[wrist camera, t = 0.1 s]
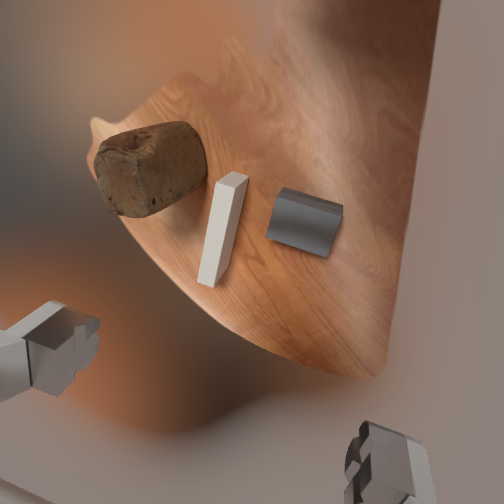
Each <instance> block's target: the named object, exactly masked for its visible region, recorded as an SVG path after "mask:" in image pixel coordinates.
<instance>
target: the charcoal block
mask: <svg viewBox="0 0 504 504" xmlns="http://www.w3.org/2000/svg"><path fill="white" fill-rule="evenodd" d="M342 213H343V205H340V204H337V203H334V202H331V201H327V200H324V199H321V198H318V197H315V196H311V195H308V194H305V193H302V192H299V191H295V190H292V189H289V188H286V187H283V189H282V190H281V192H280V193H279V194H278V196H277V198H276V202H275V205H274V209H273V212H272V216H271V220H270V223H269V227H268V230H267V234H266V238H269V239H272V240H275V241H278V242H281V243H284V244H287V245H290V246H293V247H296V248H299V249H302V250H305V251H308V252H311V253H314V254H317V255H320V256H323V257H327V255H328V252H329V249H330V247H331V244H332V242H333V239H334V237H335V234H336V232H337V229H338V226H339V224H340V221H341V219H342Z"/></svg>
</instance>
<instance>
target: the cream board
mask: <svg viewBox="0 0 504 504" xmlns="http://www.w3.org/2000/svg"><path fill="white" fill-rule="evenodd" d="M248 180H249V176H247V175H244V174H240V173H237V172H234V171H232V172H230V173H229V174H227V175H226V176H224V177H223V178H221V179H220V180H218V181H217V182H216V185H215V190H214V195H213V201H212V206H211V211H210V216H209V222H208V227H207V232H206V238H205V243H204V248H203V253H202V259H201V264H200V269H199V275H198V280H197V282H199V283H201V284H204V285H207V286H210V287H214V286H215V285H216V283H217V282H218V280H219V279H220V278H221V276H222V275H223V273H224V272H225V270H226V269H227V268H228V265H229V261H230V257H231V252H232V248H233V244H234V240H235V235H236V231H237V227H238V223H239V218H240V214H241V210H242V205H243V201H244V197H245V193H246V188H247V184H248Z"/></svg>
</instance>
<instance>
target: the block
mask: <svg viewBox="0 0 504 504" xmlns="http://www.w3.org/2000/svg"><path fill="white" fill-rule="evenodd" d="M206 168H207V167H206V158H205V152H204V149H203V146H202V145H201V142H200V139H199V137H198V135H197V133H196V131H195V130H194V129H192V127H191V125H190V124H189V123H187V122H184V121H174V122H166V123H161V124H157V125H152V126H148V127H143V128H139V129H134V130H131V131H126V132H123V133H120V134H117V135H115V136H112V137H109V138H108V139H107V140H105V141H103V142H102V143H101V144H100V146H99V151H98V153H97V154H96V156H95V160H94V169H95V173H96V176H97V183H98V186H99V191H100V193H101V196H102V199H103V201H104V203H105V206H106V208H107V210H108V212H109V213H111V214H113V215H120V216H126V217H131V218H144V217H147V216H150V215H152V214H155V213H157V212H159V211H161V210H163V209H165V208H167V207H168V206H170V205H172V204H173V203H175V202H177V201H178V200H180V199H182V198H184V197H185V196H187V195H188V194H190V193H192V192H193V191H194V190H195V189H197V188H198V187H199V186H200V185H201V183H202V179H203V178H204V177H205V175H206Z"/></svg>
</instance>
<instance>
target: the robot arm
mask: <svg viewBox="0 0 504 504" xmlns="http://www.w3.org/2000/svg"><path fill="white" fill-rule="evenodd" d="M99 328H100V320H99V319H98V318H96V317H94V316H92V315H89V314H87V313H85V312H82V311H80V310H77V309H75V308H73V307H70V306H67V305H65V304H62V303H60V302H57V301H49V302H47V303H46V304H44V305H42V306H41V307H40V308H38V309H37V310H35V311H34V312H32V313H31V314H29V315H28V316H26V317H25V318H24V319H22V320H21V321H19V322H18V323H16V324H15V325H13V326H12V327H10V328H9V329H7V330H6V331H2V330H0V402H3V401H5V400H7V399H9V398H11V397H13V396H16V395H18V394H20V393H22V392H24V391H27V390H29V389H30V388H31V387H33V388H35V389H38V390H41V391H44V392H46V393H48V394H51V395H54V396H56V397H58V396H59V395H60V394H61V393H62V392H63V391H64V390H65V389H66V388H67V387H68V386H69V385H70V384H71V383H72V382H73V381H74V380H75V372H77V371H80V370H83V369H85V368H86V367H87V366H88V365H89V364H90V363H91V362H92V360H93V359H94V357H95V355H96V354H97V351H98V348H99V341H100V340H99V337H98V335H97V334H96V331H97V330H98V329H99ZM345 476H346V478H347V480H348V482H349V484H348V486H347V488H346V489H345V491H344V504H438V503H437V499H436V494H435V489H434V485H433V480H432V475H431V471H430V466H429V462H428V458H427V453H426V448H425V445H424V443H423V442H422V441H420V440H417V439H414V438H412V437H409V436H406V435H404V434H401V433H399V432H396V431H393V430H390V429H388V428H385V427H382V426H380V425H377V424H374V423H372V422H369V421H365V422H363V423H362V425H361V426H360V428H359V436H358V437H356V438H353V439H352V441H351V443H350V445H349V447H348V451H347V454H346V459H345ZM0 504H54V503H52V502H50V501H48V500H46V499H44V498H42V497H39V496H37V495H35V494H33V493H31V492H28V491H26V490H24V489H22V488H20V487H18V486H16V485H14V484H12V483H10V482H7V481H5V480H3V479H1V478H0Z"/></svg>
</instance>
